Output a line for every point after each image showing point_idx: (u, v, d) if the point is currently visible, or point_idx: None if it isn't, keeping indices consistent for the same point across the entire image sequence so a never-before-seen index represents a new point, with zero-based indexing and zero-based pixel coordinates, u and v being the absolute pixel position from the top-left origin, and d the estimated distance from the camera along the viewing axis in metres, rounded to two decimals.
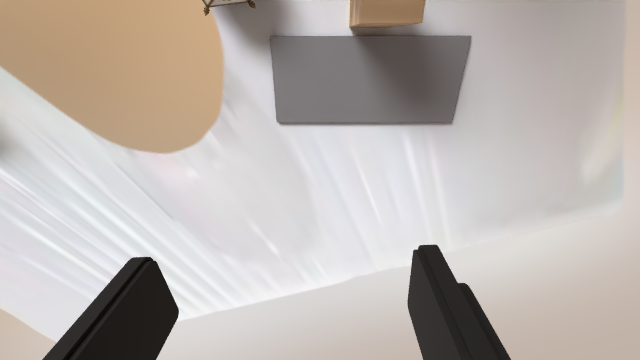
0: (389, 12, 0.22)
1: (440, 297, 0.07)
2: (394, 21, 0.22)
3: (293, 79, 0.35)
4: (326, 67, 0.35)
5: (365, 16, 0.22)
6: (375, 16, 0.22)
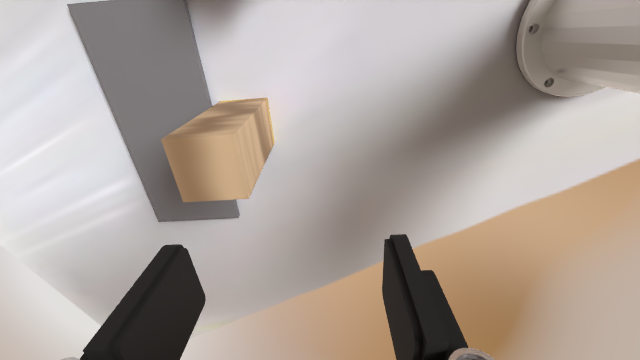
0: (182, 169, 0.20)
1: (403, 281, 0.08)
2: (175, 175, 0.20)
3: (138, 31, 0.26)
4: (168, 78, 0.28)
5: (169, 144, 0.19)
6: (173, 155, 0.19)
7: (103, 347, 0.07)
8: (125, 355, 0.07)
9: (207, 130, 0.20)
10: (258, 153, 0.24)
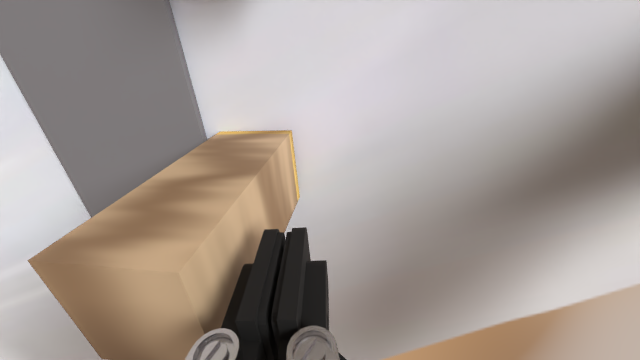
0: (84, 313, 0.09)
1: (283, 268, 0.09)
2: (75, 320, 0.09)
3: (81, 20, 0.15)
4: (135, 97, 0.17)
5: (47, 271, 0.08)
6: (61, 289, 0.09)
7: (253, 318, 0.07)
8: (267, 327, 0.07)
9: (141, 232, 0.09)
10: None
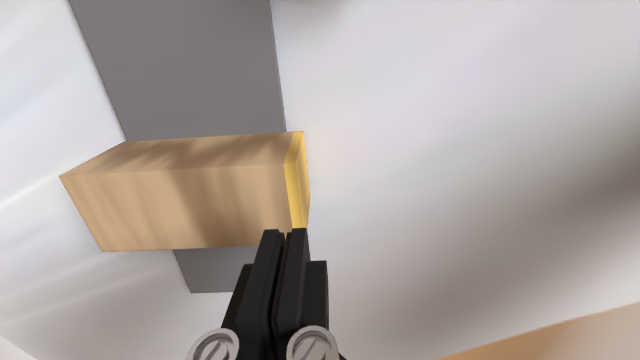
0: None
1: (283, 268, 0.09)
2: None
3: (178, 13, 0.15)
4: (222, 92, 0.17)
5: None
6: None
7: (254, 318, 0.07)
8: (267, 327, 0.07)
9: (118, 156, 0.16)
10: (173, 225, 0.15)
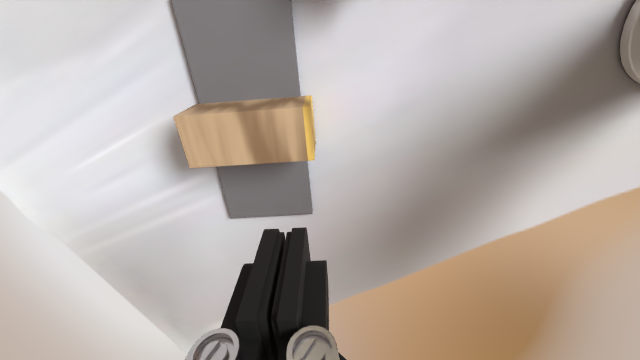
0: None
1: (283, 269, 0.09)
2: None
3: (238, 22, 0.25)
4: (261, 70, 0.27)
5: None
6: None
7: (254, 318, 0.07)
8: (267, 327, 0.07)
9: (200, 109, 0.26)
10: (236, 148, 0.26)
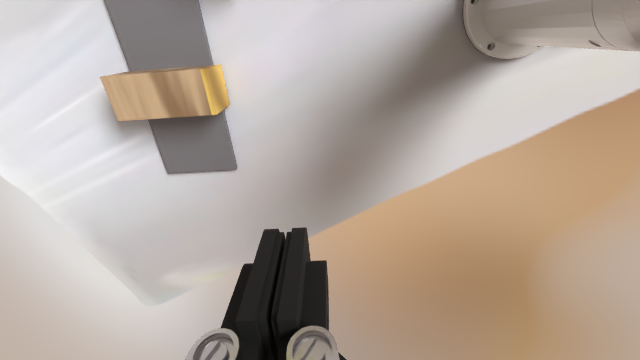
0: None
1: (283, 269, 0.09)
2: None
3: (154, 3, 0.32)
4: (177, 43, 0.33)
5: None
6: None
7: (254, 318, 0.07)
8: (267, 327, 0.07)
9: (126, 73, 0.33)
10: (153, 104, 0.32)
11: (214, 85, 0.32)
